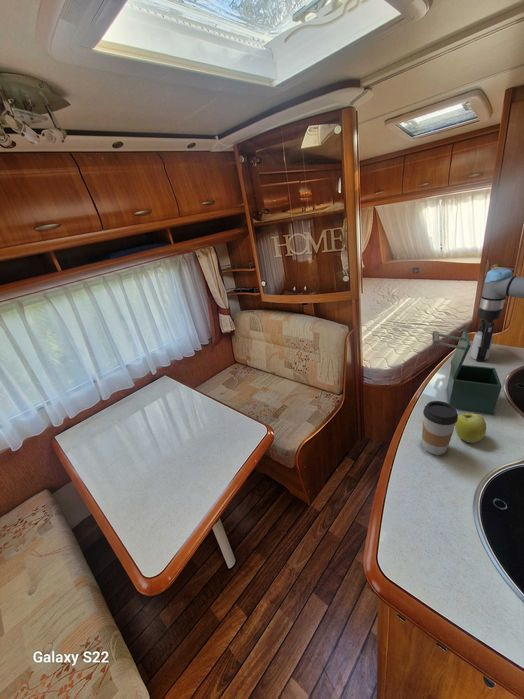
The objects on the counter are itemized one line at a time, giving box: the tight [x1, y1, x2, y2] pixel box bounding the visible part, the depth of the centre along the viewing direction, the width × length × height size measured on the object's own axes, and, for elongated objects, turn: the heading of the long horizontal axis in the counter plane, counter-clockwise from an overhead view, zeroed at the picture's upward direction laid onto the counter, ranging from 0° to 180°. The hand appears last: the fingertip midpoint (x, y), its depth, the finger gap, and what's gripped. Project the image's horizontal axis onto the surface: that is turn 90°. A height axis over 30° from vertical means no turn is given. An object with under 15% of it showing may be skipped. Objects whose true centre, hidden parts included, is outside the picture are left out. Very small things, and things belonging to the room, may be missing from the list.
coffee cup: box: [421, 400, 459, 456], centre depth 80 cm, size 8×8×15 cm
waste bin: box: [446, 364, 503, 416], centre depth 96 cm, size 13×12×12 cm
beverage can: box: [469, 331, 494, 361], centre depth 119 cm, size 6×6×12 cm
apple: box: [454, 412, 487, 443], centre depth 83 cm, size 8×8×10 cm
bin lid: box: [431, 329, 472, 379], centre depth 94 cm, size 13×12×10 cm
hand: (478, 356), depth 121 cm, fingers closed on beverage can, 6 cm apart
